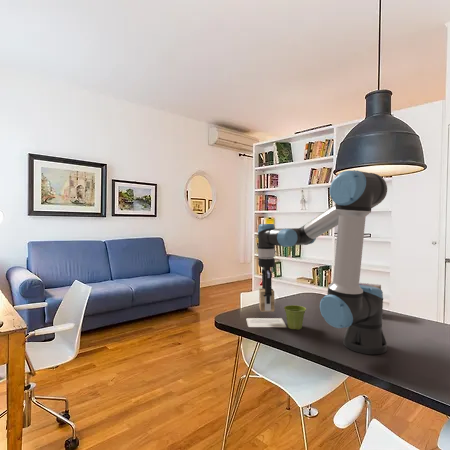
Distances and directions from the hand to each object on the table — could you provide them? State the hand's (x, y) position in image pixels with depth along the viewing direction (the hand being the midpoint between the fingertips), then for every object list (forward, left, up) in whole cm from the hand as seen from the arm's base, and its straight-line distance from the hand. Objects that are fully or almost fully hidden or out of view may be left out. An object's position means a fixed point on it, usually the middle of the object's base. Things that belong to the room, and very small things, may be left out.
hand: (266, 308), depth 148 cm
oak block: (0, 0, -1) cm, 1 cm away
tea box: (+17, -52, -7) cm, 55 cm away
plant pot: (-5, -12, -7) cm, 15 cm away
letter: (+1, 0, -7) cm, 7 cm away
